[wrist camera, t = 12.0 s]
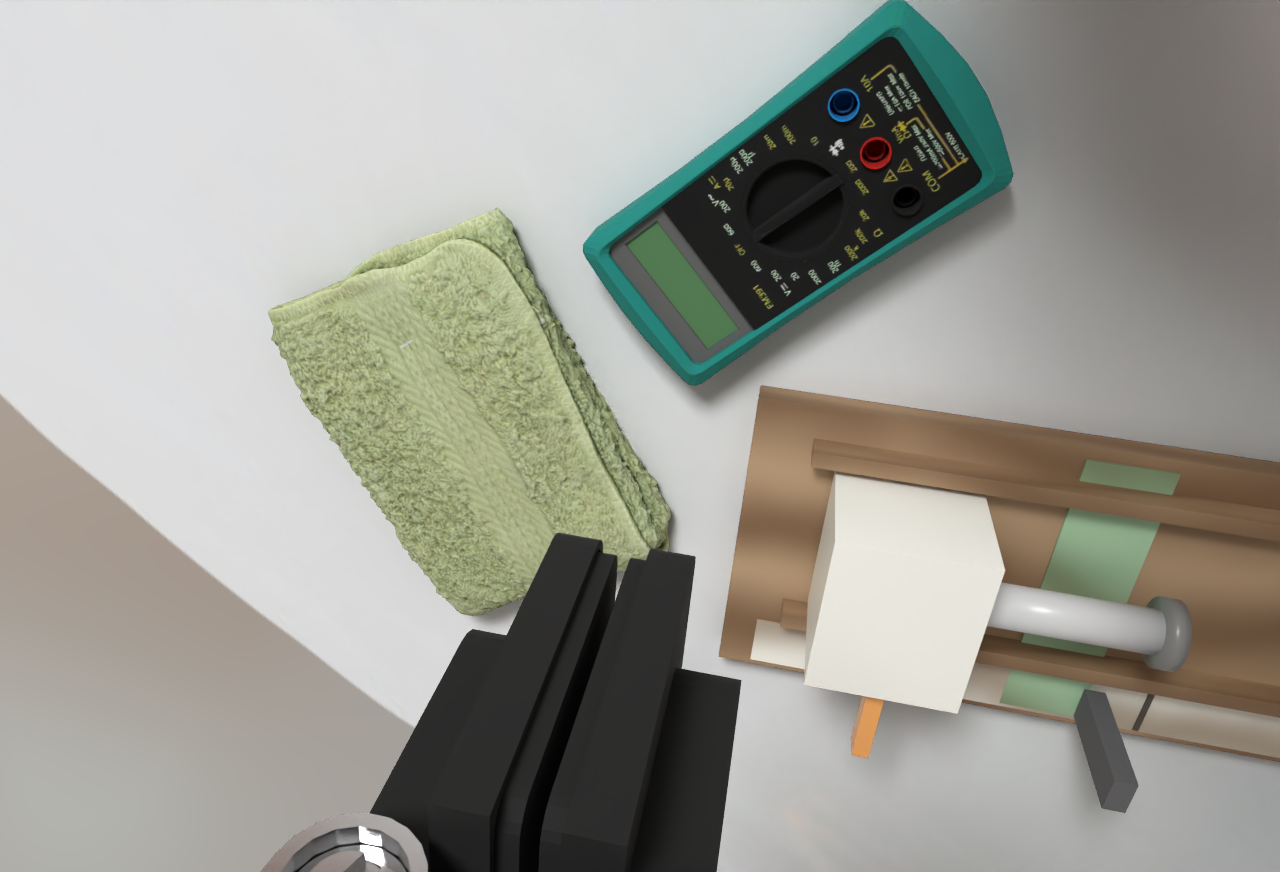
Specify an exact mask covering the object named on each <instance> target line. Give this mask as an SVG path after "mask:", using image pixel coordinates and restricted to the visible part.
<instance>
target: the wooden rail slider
mask: <svg viewBox="0 0 1280 872" xmlns="http://www.w3.org/2000/svg"><path fill="white" fill-rule="evenodd" d="M835 471H839V472H845V473H851V474H858V475H864V476H870V477H877V478H883V479H889V480H895V481H902V482H908V483H914V484H921V485H927V486H933V487H939V488H946V489H952V490H958V491H965V492H971V493H977V494H983V495H985V496H986V500H987V503H988V507H989V511H990V515H991V519H992V522H993V526H994V530H995V534H996V537H997V541H998V545H999V549H1000V553H1001V556H1002V560H1003V564H1004V568H1005V573H1004V576H1003V579H1002V583H1008V584H1014V585H1020V586H1026V587H1032V588H1038V589H1043V590H1049V591H1055V592H1061V593H1067V594H1073V595H1079V596H1084V597H1090V598H1096V599H1102V600H1108V601H1114V602H1120V603H1126V604H1131V605H1137V606H1143V607H1146V606H1147V605H1148V603H1149V602H1150V601H1151V600H1152V599H1153V598H1154V597H1156V596H1161V597H1167V598H1173V599H1178V600H1181V601H1183V602H1184V603H1185V604H1186V606H1187V608H1188V610H1189V613H1190V616H1191V622H1192V639H1191V646H1190V650H1189V653H1188V656H1187V658H1186V661H1185V662H1184V664H1183V666H1182V667H1181V668H1180V669H1179V670H1177V671H1175V672H1169V671H1164V670H1158V669H1152V668H1150V667H1148V666H1147V665H1146V664H1145V662H1144V660H1143V657H1142V654H1141V653H1137V652H1131V651H1125V650H1120V649H1114V648H1108V647H1103V646H1097V645H1091V644H1086V643H1080V642H1074V641H1069V640H1063V639H1057V638H1052V637H1046V636H1040V635H1035V634H1029V633H1023V632H1018V631H1012V630H1007V629H1001V628H995V627H990V626H987V627H986V630H985V633H984V636H983V639H982V642H981V645H980V648H979V651H978V654H977V657H976V660H975V663H974V666H973V669H972V672H971V675H970V678H969V681H968V684H967V687H966V690H965V693H964V696H963V699H962V702H963V703H968V704H974V705H979V706H984V707H990V708H995V709H1000V710H1006V711H1011V712H1016V713H1022V714H1027V715H1032V716H1038V717H1043V718H1048V719H1054V720H1059V721H1064V722H1070V723H1075V724H1076V721H1075V718H1074V713H1075V711H1076V708H1077V706H1078V704H1079V701H1080V699H1081V696H1082V694H1083V692H1084V689H1087V690H1093V691H1098V692H1104V693H1106V695H1107V698H1108V701H1109V704H1110V707H1111V709H1112V712H1113V715H1114V718H1115V721H1116V723H1117V726H1118V729H1119V732H1123V733H1128V734H1134V735H1139V736H1144V737H1150V738H1155V739H1160V740H1166V741H1171V742H1176V743H1182V744H1187V745H1192V746H1198V747H1203V748H1208V749H1214V750H1219V751H1224V752H1230V753H1235V754H1240V755H1246V756H1251V757H1256V758H1262V759H1267V760H1272V761H1278V762H1280V463H1278V462H1271V461H1264V460H1257V459H1251V458H1244V457H1237V456H1231V455H1224V454H1217V453H1211V452H1204V451H1197V450H1190V449H1184V448H1177V447H1170V446H1164V445H1157V444H1150V443H1143V442H1137V441H1130V440H1123V439H1117V438H1110V437H1103V436H1097V435H1090V434H1083V433H1076V432H1070V431H1063V430H1056V429H1050V428H1043V427H1036V426H1029V425H1023V424H1016V423H1009V422H1003V421H996V420H989V419H983V418H976V417H969V416H962V415H956V414H949V413H942V412H936V411H929V410H922V409H915V408H909V407H902V406H895V405H889V404H882V403H875V402H869V401H862V400H855V399H848V398H842V397H835V396H828V395H822V394H815V393H808V392H801V391H795V390H788V389H781V388H775V387H768V386H761V387H760V393H759V399H758V406H757V412H756V419H755V425H754V432H753V438H752V444H751V451H750V457H749V464H748V470H747V477H746V483H745V490H744V496H743V503H742V509H741V516H740V522H739V528H738V535H737V541H736V548H735V554H734V561H733V567H732V574H731V580H730V587H729V593H728V600H727V606H726V612H725V619H724V625H723V632H722V638H721V645H720V651H719V657H723V658H728V659H733V660H739V661H744V662H749V663H755V664H760V665H765V666H771V667H776V668H781V669H787V670H792V671H797V672H803V673H804V672H805V650H806V629H807V607H808V597H809V592H810V587H811V582H812V577H813V573H814V568H815V563H816V558H817V553H818V549H819V544H820V539H821V534H822V529H823V525H824V520H825V515H826V510H827V505H828V500H829V496H830V491H831V486H832V481H833V476H834V472H835Z"/></svg>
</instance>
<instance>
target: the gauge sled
mask: <svg viewBox="0 0 1280 872" xmlns="http://www.w3.org/2000/svg"><path fill="white" fill-rule="evenodd" d="M1004 573H1005V568H1004V564H1003V560H1002V556H1001V553H1000V549H999V545H998V541H997V537H996V534H995V530H994V526H993V522H992V519H991V515H990V511H989V507H988V503H987V500H986V496H985V495H983V494H977V493H971V492H965V491H958V490H952V489H946V488H939V487H933V486H927V485H921V484H914V483H908V482H902V481H895V480H889V479H883V478H877V477H870V476H864V475H858V474H851V473H845V472H839V471H835V472H834V476H833V481H832V486H831V491H830V496H829V500H828V505H827V510H826V515H825V520H824V525H823V529H822V534H821V539H820V544H819V549H818V553H817V558H816V563H815V568H814V573H813V577H812V582H811V587H810V592H809V597H808V607H807V629H806V650H805V672H804V685H808V686H813V687H818V688H824V689H829V690H834V691H840V692H845V693H850V694H855V695H861V696H862V698H861V702H860V705H859V709H858V713H857V717H856V721H855V724H854V728H853V732H852V736H851V755H854V756H859V757H864V758H868V757H869V753H870V749H871V746H872V742H873V739H874V735H875V731H876V728H877V724H878V721H879V717H880V713H881V710H882V706H883V703H884V700H887V701H892V702H898V703H903V704H908V705H914V706H919V707H924V708H929V709H935V710H940V711H945V712H951V713H956V714H958V711H959V708H960V705H961V702H962V699H963V696H964V693H965V690H966V687H967V684H968V681H969V678H970V675H971V672H972V669H973V666H974V663H975V660H976V657H977V654H978V651H979V648H980V645H981V642H982V639H983V636H984V633H985V630H986V627H987V626H990V627H995V628H1001V629H1007V630H1012V631H1018V632H1023V633H1029V634H1035V635H1040V636H1046V637H1052V638H1057V639H1063V640H1069V641H1074V642H1080V643H1086V644H1091V645H1097V646H1103V647H1108V648H1114V649H1120V650H1125V651H1131V652H1137V653H1141V654H1142V657H1143V660H1144V662H1145V664H1146V665H1147V666H1148V667H1150V668H1152V669H1158V670H1164V671H1169V672H1175V671H1177V670H1179V669H1180V668H1181V667H1182V666H1183V664H1184V662H1185V661H1186V658H1187V656H1188V653H1189V650H1190V646H1191V639H1192V622H1191V616H1190V613H1189V610H1188V608H1187V606H1186V604H1185V603H1184V602H1183V601H1181V600H1178V599H1173V598H1167V597H1161V596H1156V597H1154V598H1153V599H1152V600H1151V601H1150V602H1149V603H1148V605H1147V606H1146V607H1143V606H1137V605H1131V604H1126V603H1120V602H1114V601H1108V600H1102V599H1096V598H1090V597H1084V596H1079V595H1073V594H1067V593H1061V592H1055V591H1049V590H1043V589H1038V588H1032V587H1026V586H1020V585H1014V584H1008V583H1002V579H1003V576H1004Z"/></svg>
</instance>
